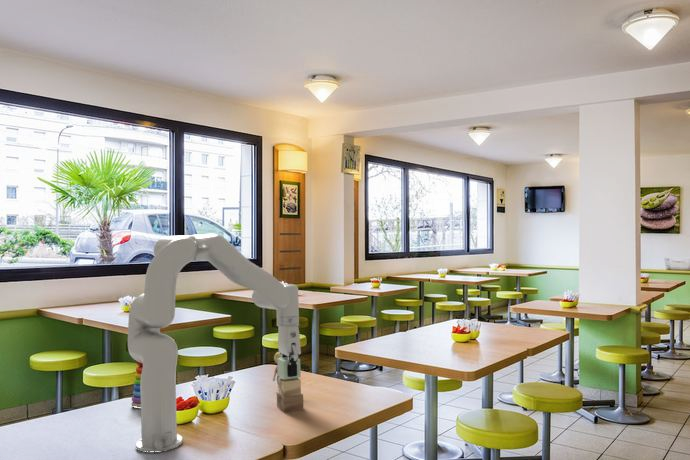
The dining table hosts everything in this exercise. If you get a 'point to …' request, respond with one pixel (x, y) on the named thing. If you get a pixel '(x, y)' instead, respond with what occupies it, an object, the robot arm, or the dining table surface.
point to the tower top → (289, 387)
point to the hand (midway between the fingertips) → (288, 373)
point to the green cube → (284, 370)
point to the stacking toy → (137, 386)
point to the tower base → (289, 402)
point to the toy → (276, 367)
